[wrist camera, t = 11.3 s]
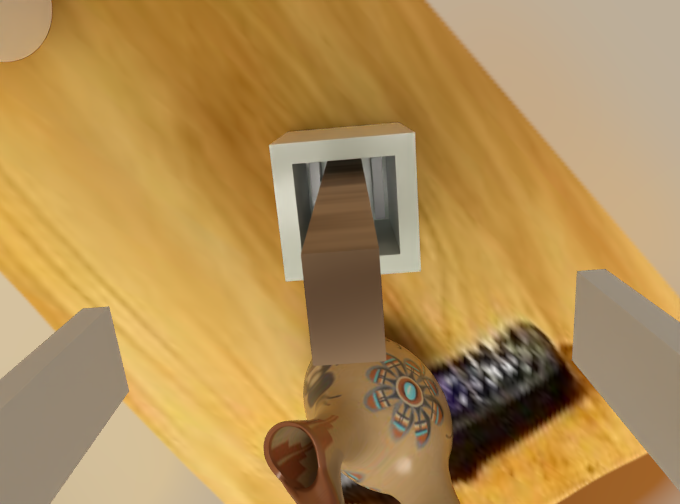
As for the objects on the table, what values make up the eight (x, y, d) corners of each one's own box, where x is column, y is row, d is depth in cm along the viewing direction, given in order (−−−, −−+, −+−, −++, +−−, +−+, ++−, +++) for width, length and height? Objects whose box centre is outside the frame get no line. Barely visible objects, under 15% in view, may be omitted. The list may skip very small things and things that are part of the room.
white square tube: (287, 131, 40) (269, 144, 30) (398, 122, 40) (415, 132, 30) (299, 238, 42) (285, 281, 33) (404, 230, 42) (420, 271, 33)
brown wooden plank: (327, 159, 40) (300, 254, 17) (360, 156, 40) (378, 248, 17) (332, 211, 41) (313, 366, 18) (364, 208, 41) (386, 361, 18)
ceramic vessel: (479, 379, 46) (622, 693, 22) (413, 448, 48) (478, 801, 24) (329, 270, 43) (308, 494, 19) (266, 349, 45) (176, 637, 22)
